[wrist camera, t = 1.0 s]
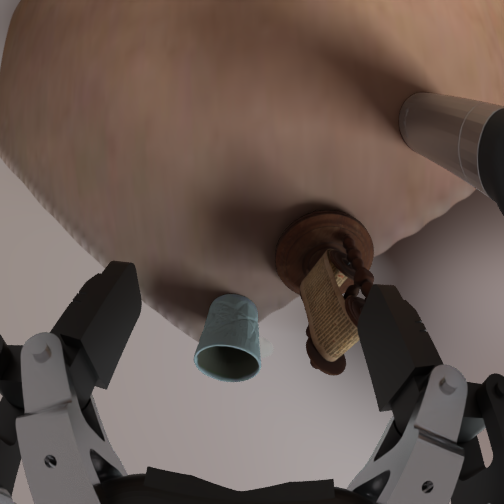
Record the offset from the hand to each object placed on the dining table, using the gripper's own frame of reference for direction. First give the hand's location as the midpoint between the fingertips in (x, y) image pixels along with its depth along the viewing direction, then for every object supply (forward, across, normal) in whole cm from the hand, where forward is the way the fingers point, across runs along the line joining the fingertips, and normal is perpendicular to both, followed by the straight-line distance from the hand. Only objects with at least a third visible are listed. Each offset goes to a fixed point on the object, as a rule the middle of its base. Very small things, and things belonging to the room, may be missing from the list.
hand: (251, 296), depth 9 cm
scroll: (+30, -11, +14) cm, 35 cm away
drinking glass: (+30, +2, +29) cm, 42 cm away
